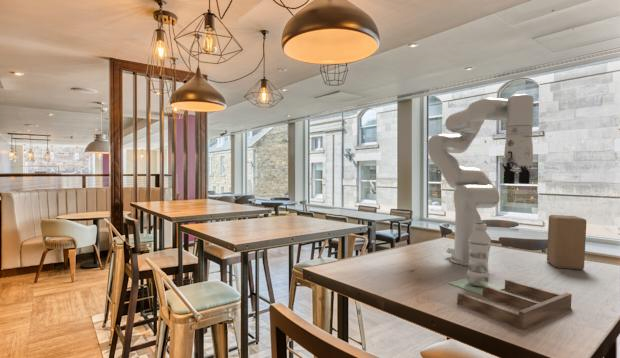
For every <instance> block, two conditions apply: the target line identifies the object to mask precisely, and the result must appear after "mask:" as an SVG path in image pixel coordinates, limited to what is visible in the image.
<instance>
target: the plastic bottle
mask: <svg viewBox="0 0 620 358" xmlns="http://www.w3.org/2000/svg"><path fill="white" fill-rule="evenodd" d="M473 229H474V231H473V232H472V234H471V235H470V236H469V255H470V260H469V266H467V272H466V278H467V281H468V283H469V284H471V285H474V286H480V287H483V286H487V285H488V283H490V274H489V273H490V272H489V256H490V250H491V245H492V239H491V237H490V235H489V233H488V232H487V230H488V229H487V223H483V222H481V223H474V227H473Z"/></svg>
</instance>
